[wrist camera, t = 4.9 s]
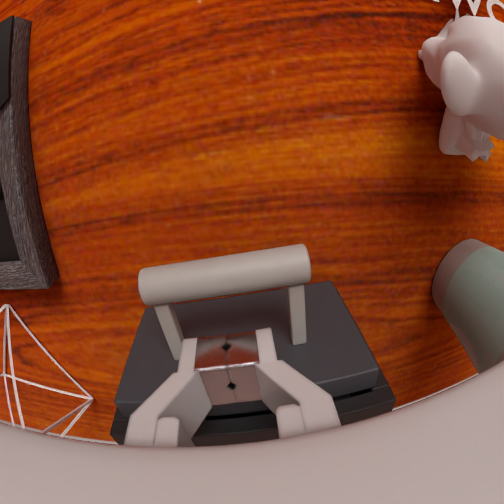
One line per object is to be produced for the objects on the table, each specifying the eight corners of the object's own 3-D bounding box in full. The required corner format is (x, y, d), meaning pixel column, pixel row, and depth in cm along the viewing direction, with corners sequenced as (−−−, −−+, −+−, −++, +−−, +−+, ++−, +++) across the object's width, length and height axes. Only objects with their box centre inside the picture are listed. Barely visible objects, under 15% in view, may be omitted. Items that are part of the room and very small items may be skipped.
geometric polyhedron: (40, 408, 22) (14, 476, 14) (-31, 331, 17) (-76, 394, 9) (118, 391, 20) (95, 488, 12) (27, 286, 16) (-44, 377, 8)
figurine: (489, 137, 15) (503, 14, 8) (565, 207, 10) (602, 56, 2) (353, 138, 15) (347, -33, 8) (434, 235, 10) (468, -49, 2)
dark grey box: (145, 315, 17) (108, 434, 9) (336, 287, 17) (396, 399, 10) (194, 420, 22) (189, 510, 14) (330, 401, 22) (357, 488, 14)
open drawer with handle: (121, 236, 14) (61, 316, 8) (328, 203, 14) (396, 268, 8) (192, 414, 20) (188, 490, 14) (327, 395, 20) (350, 470, 14)
